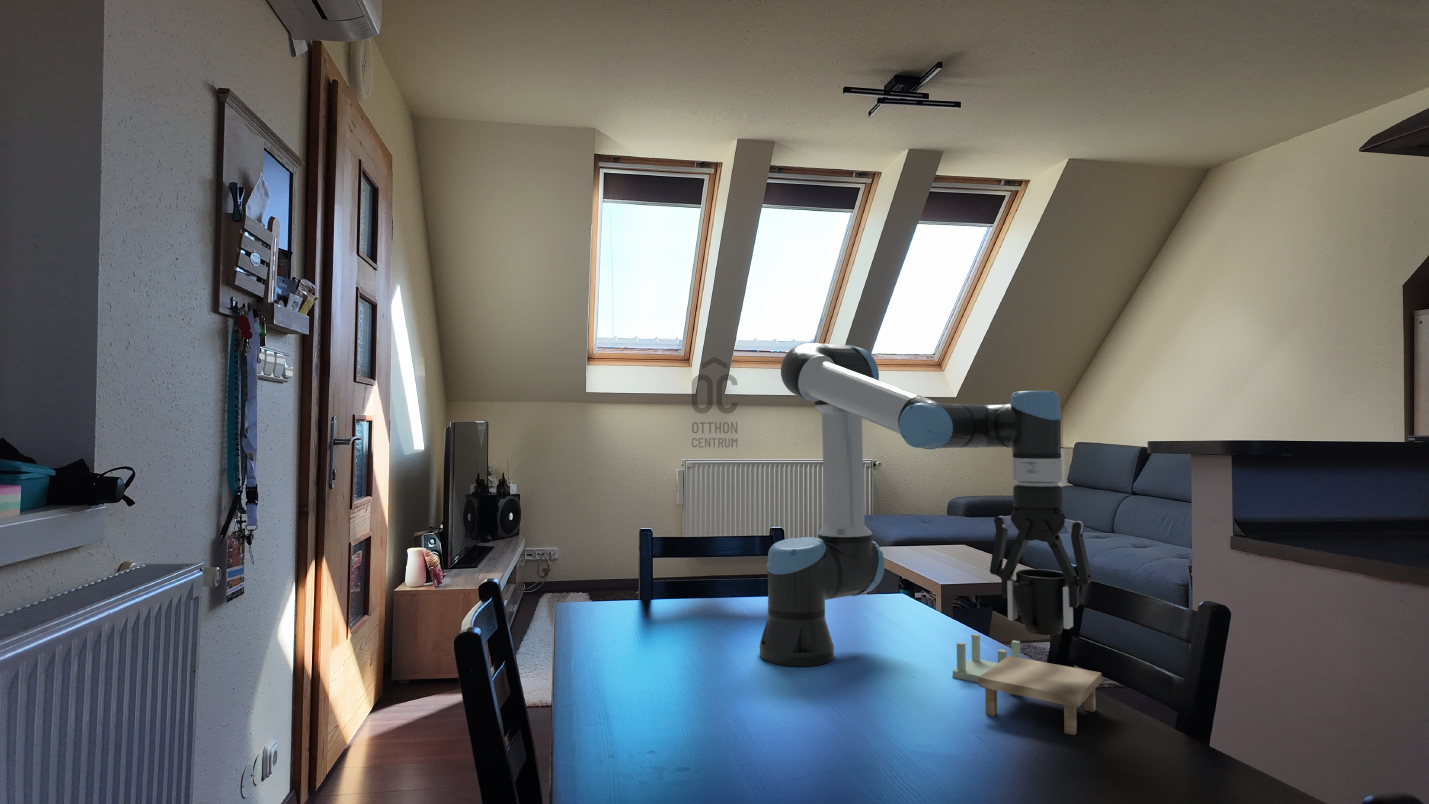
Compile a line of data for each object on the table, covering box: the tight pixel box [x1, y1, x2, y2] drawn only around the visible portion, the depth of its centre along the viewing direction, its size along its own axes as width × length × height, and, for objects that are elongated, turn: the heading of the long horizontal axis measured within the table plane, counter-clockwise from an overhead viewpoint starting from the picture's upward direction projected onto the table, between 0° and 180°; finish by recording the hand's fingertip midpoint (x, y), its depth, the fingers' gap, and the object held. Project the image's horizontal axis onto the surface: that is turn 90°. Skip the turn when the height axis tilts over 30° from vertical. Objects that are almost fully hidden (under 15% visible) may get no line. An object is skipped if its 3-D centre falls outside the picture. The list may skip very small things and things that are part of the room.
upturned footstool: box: [952, 633, 1021, 684], centre depth 143 cm, size 10×10×6 cm
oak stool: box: [978, 655, 1102, 736], centre depth 124 cm, size 15×15×6 cm
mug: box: [1013, 568, 1068, 636], centre depth 125 cm, size 8×12×10 cm
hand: (1040, 622), depth 125 cm, fingers closed on mug, 8 cm apart
